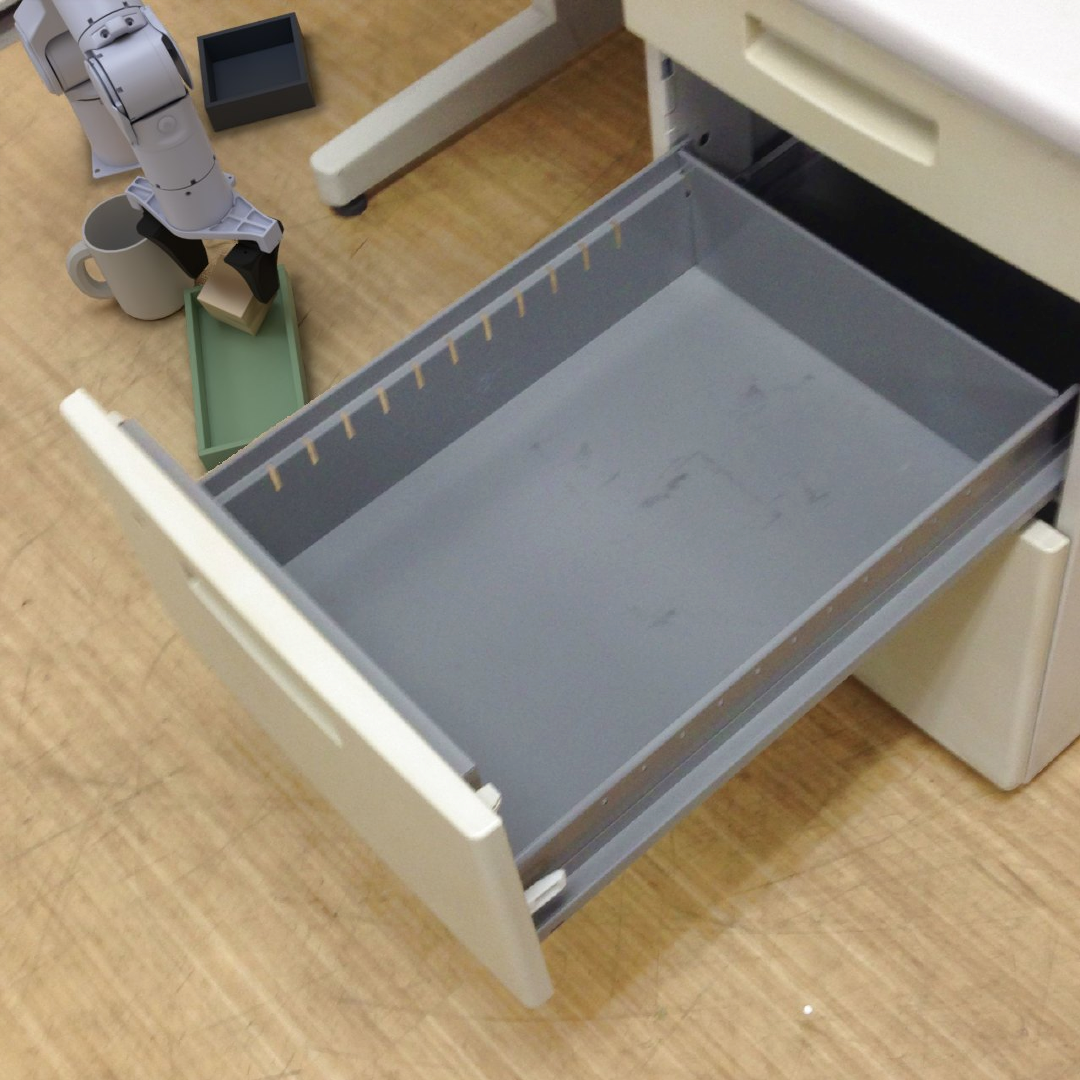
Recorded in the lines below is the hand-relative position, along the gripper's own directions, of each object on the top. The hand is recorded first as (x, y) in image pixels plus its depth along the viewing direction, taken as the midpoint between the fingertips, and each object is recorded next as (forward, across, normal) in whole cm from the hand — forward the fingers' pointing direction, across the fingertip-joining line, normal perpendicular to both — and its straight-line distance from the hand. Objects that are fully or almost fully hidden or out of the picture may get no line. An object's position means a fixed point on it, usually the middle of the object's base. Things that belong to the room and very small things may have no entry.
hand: (234, 283), depth 131 cm
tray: (+5, -4, +5) cm, 8 cm away
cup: (+5, +11, +2) cm, 12 cm away
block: (+3, 0, 0) cm, 3 cm away
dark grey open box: (+5, +17, -26) cm, 32 cm away
